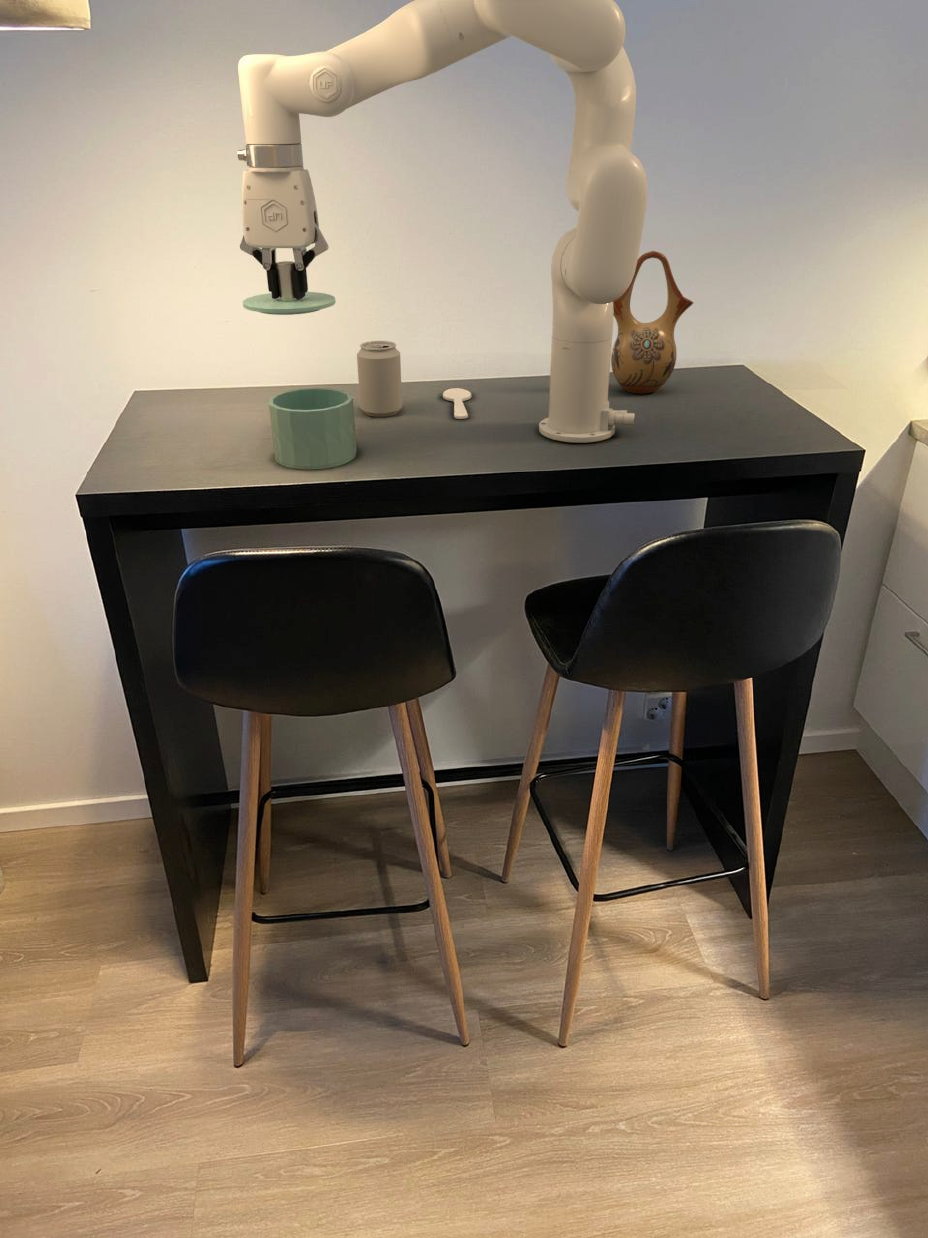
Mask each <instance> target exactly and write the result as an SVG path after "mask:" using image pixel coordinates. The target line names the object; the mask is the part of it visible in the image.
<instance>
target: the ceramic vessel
mask: <svg viewBox="0 0 928 1238" xmlns="http://www.w3.org/2000/svg"><path fill="white" fill-rule="evenodd" d="M649 259H657V260H659V261H660V262H661V265H662V267H663V268H662V269H663V271H664V276H665V282H666V289H667V301H666V307H665V310H664V311H663V313H662V314H661V315H660V316H659V317H658V318H657V319H655V320H653V321H650V322H641V321H639V320H638V319H637V318H636V317H635V316H634V315H633V313H632V310H631V300H632V293H633V290H634V286H635V282H636V279H637V277H638V274H639V273H640V270H641V267H642V265H643V263H644V262H645V261H646V260H649ZM693 304H694V302H693V301H692V300H691V299H689V298H687V297H685V296H683V293H682V292H681V290H680V289H679V287H678V285H677V283H676V280H675V279H674V276H673V273H672V269H671V266H670V263H669V260H668V258H667V256H665V255H664V253H661V252H659V251H655V250H651V251H647V252H645V253H643V254H642V255H640V256H639V257H638V260H637V265H636V270H635V273H634V276H633V279H632V282H631V284H630V286H629V287H628V289H627V290H626V291H625V293H624V294H623V295H622V296H621V297H619V298H618V299H616V300H615V301H613V318H614V320H615V321H616V325H617V335H616V339H615V341H614V343H613V346H612V348H611V359H610V367H611V371H612V374H613V376H614V378H615V381H616V382H617V384H619V385H620V387H621V388H622V389H623V390H624V391H626V392H628V393H631V394H640V395H645V394H653V393H654V392H656V391H658V390H659V389H661V387H663V386H664V385H665V384H666V383H667V382H668V380H669V379H670V377H671V375H672V374H673V372H674V369H675V367H676V364H677V363H676V362H677V351H678V350H677V345H676V341H675V328H676V325H677V323H678V321H679V320H680V317H682V315H683V314H684V313H685V312H686V311H687V310H688V309H689V308H690V307H691V306H693Z"/></svg>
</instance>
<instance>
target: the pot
mask: <svg viewBox="0 0 928 1238" xmlns="http://www.w3.org/2000/svg"><path fill="white" fill-rule="evenodd" d="M267 402H268V410H269V419H270V428H271V437H272V445H273V453H274V460H275V462H276V463H277V464H278V465H280V466H282V467H286V468H288V469H293V470H294V469H296V470H305V471H306V470H309V471H310V470H311V471H312V470H324V469H330V468H337V467H339V466H343V465H345V464H348V463H349V462H351V461H352V460H354V459H355V458H356V456H357V451H358V450H357V440H356V439H357V438H356V436H357V435H356V422H355V410H354V409H355V408H354V398H353V396H352V394H351V393H350V392H347V391H345V390H343V389H337V388H332V387H303V388H295V389H290V390H285V391H281V392H279V393H276V394H274V395H272V396H271V397H270V398H269V399H268V400H267Z"/></svg>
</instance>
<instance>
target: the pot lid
mask: <svg viewBox="0 0 928 1238" xmlns="http://www.w3.org/2000/svg"><path fill="white" fill-rule="evenodd" d="M276 268H277V278H278V288H279V298H277V299H272V293H271V292H267V293H263V294H262V293H261V294H258V295H252V296H249V297H247V298H244V299H243V301H242V307H243V309H244V310H245V309H246V310H248V311H251V312H257V313H261V314H264V315H265V314H266V315H272V316H273V315H274V316H290V315H291V316H292V315H304V314H310V313H316V312H318V311H321V310H324V309H327V308H331V307H333V306H334V305H336V303H337V302H336V297H335V296H334V295H332V294H329V293H325V292H317V291H316V292H315V291H307V292H305V297H303V298H302V299H296V298H295V293H294V283H293V271H294V270H295V261H289V260H283V261H276Z"/></svg>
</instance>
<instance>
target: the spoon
mask: <svg viewBox="0 0 928 1238" xmlns="http://www.w3.org/2000/svg"><path fill="white" fill-rule="evenodd" d="M442 398H443V399H444V400H446V401H449V402H453V403H454V404H453V417H454V418H455V419H456V420H457V419H458V420H463V419H467V418H468V417H469V415H468V412H467V409H466V407H465V404H464V402H465V401H468V400H470V399H472V393H471V391H469V390H467V389H465V388H461V387H460V388H459V387H456V388H455V387H453V388H449V389H446V390H444V391H443V393H442Z"/></svg>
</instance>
